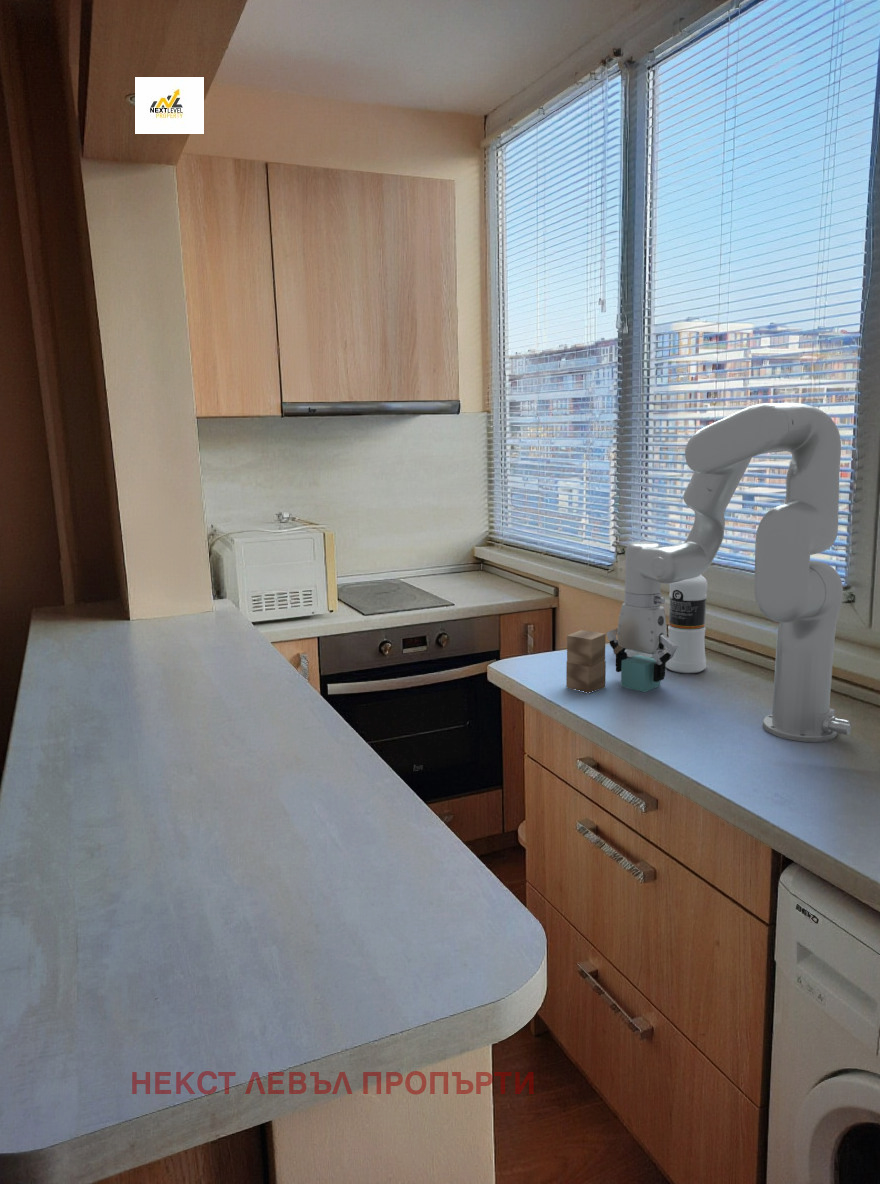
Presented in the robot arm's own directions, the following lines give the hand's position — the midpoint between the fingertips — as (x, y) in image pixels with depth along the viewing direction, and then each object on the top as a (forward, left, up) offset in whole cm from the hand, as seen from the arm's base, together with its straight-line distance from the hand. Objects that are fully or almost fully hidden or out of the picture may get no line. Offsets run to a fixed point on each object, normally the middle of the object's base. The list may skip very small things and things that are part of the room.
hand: (639, 675), depth 178 cm
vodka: (0, -18, -3) cm, 18 cm away
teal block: (0, 0, -2) cm, 2 cm away
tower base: (+8, +9, -2) cm, 12 cm away
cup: (+14, -20, -3) cm, 24 cm away
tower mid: (+8, +9, +4) cm, 12 cm away
